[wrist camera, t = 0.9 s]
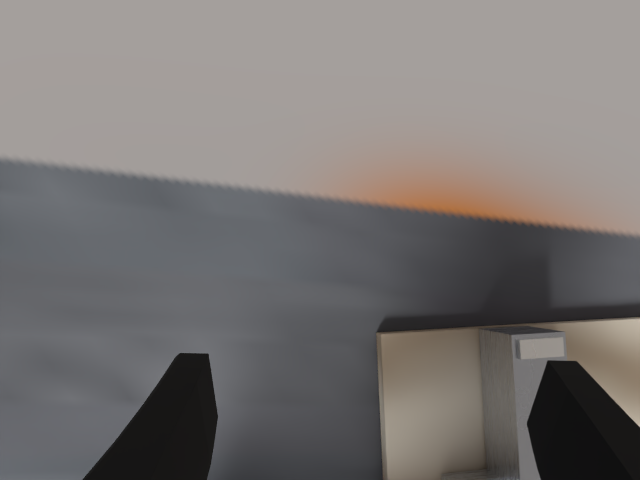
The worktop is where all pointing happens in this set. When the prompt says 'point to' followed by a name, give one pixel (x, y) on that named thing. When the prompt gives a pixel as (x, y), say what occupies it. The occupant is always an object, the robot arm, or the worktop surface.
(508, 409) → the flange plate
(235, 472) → the worktop surface
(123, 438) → the robot arm
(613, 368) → the board
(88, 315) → the worktop surface
